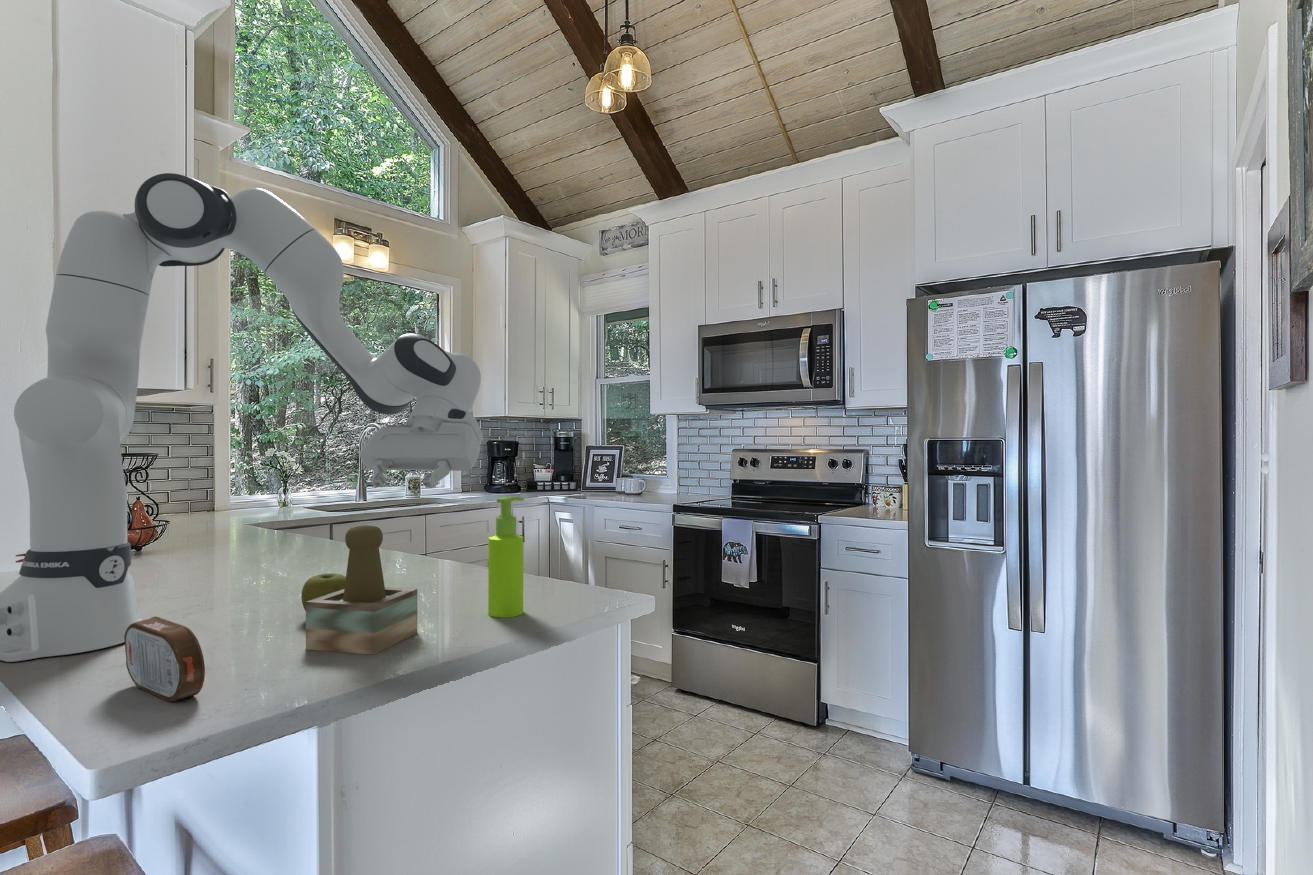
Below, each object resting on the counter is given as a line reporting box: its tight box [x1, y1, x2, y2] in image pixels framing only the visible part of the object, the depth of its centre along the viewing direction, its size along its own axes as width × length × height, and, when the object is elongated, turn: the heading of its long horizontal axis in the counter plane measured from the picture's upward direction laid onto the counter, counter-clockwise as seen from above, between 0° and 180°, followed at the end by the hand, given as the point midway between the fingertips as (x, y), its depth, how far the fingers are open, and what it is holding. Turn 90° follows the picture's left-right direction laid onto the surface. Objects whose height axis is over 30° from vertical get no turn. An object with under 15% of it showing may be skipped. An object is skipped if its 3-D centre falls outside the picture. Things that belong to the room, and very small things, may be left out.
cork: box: [343, 525, 386, 603], centre depth 104 cm, size 6×6×11 cm
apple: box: [301, 573, 346, 612], centre depth 116 cm, size 8×8×7 cm
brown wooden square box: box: [305, 586, 418, 655], centre depth 103 cm, size 11×11×7 cm
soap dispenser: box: [487, 496, 525, 619], centre depth 120 cm, size 6×7×20 cm
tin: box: [124, 616, 206, 703], centre depth 83 cm, size 15×3×8 cm, turn 58°
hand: (402, 485), depth 113 cm, fingers open, 8 cm apart
